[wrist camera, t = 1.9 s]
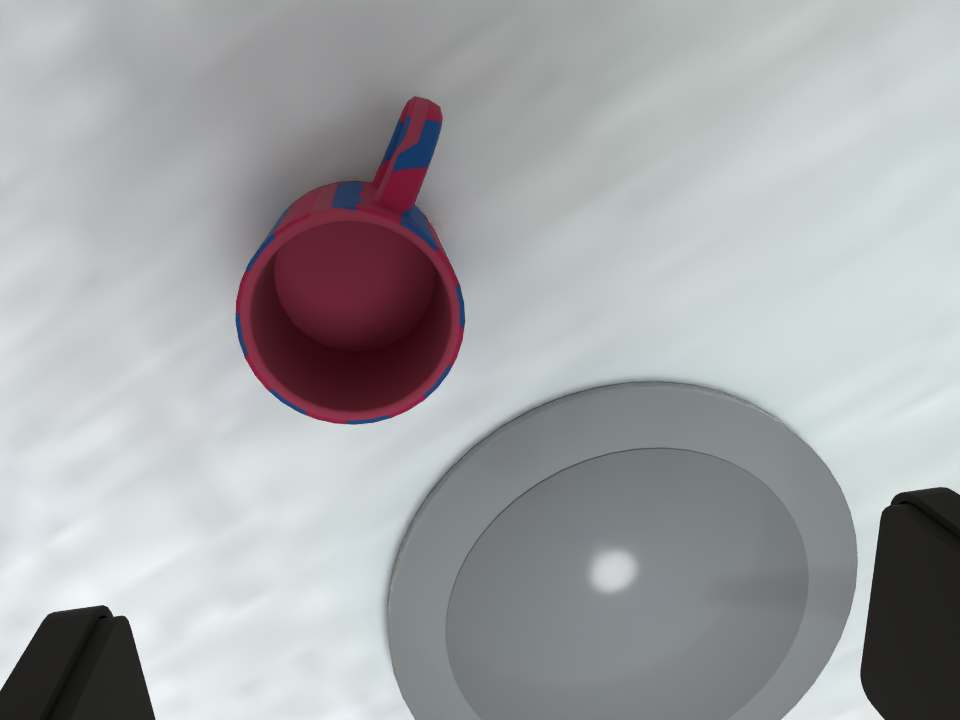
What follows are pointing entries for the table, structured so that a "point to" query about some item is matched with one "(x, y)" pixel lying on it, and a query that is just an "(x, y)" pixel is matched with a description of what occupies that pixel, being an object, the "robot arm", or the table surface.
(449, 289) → the cup
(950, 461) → the table surface
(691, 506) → the dish
